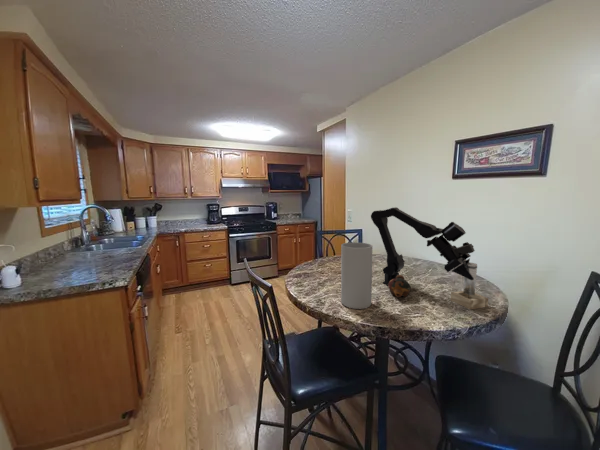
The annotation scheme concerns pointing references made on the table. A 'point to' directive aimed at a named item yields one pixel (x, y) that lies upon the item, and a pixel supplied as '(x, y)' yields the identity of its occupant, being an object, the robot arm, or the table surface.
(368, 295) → the cylinder vase
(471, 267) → the silver metal cylinder
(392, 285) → the decorative turtle
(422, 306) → the table surface
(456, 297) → the socket block
